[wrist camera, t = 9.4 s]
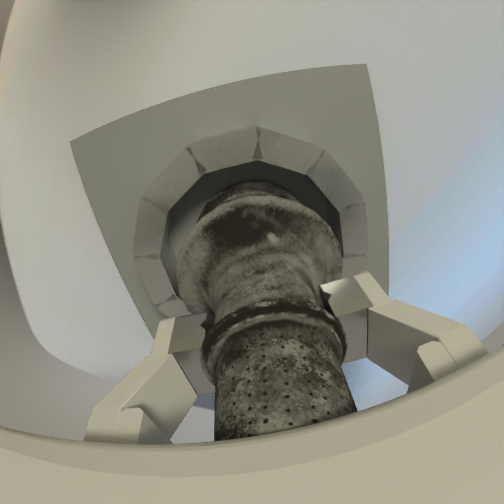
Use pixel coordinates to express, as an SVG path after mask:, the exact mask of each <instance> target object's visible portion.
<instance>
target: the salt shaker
mask: <svg viewBox="0 0 504 504" xmlns="http://www.w3.org/2000/svg"><path fill="white" fill-rule="evenodd" d="M342 268H343V261H342V255H341V249H340V245H339V243H338V241H337V239H336V237H335V235H334V233H333V231H332V229H331V227H330V226H329V225H328V224H327V223H326V222H325V221H324V220H323V219H322V218H321V217H320V216H319V215H318V214H317V213H316V212H315V211H313V210H311V209H310V208H308V207H306V206H304V205H302V203H301V202H300V201H299V200H298V199H297V198H296V197H295V196H294V195H293V194H292V193H291V192H290V191H288V190H286V189H284V188H282V187H280V186H278V185H276V184H273V183H268V182H263V181H245V182H241V183H237V184H234V185H231V186H228V187H226V188H225V189H223V190H222V191H220V192H219V193H217V194H216V195H214V196H213V197H212V198H211V200H210V201H209V202H208V203H207V204H206V205H205V206H204V208H203V210H202V212H201V214H200V216H199V218H198V220H197V224H196V225H195V226H194V227H193V228H192V229H191V231H190V232H189V233H188V234H187V236H186V238H185V240H184V242H183V245H182V247H181V249H180V251H179V254H178V259H177V267H176V280H177V285H178V290H179V294H180V296H181V298H182V300H183V302H184V304H185V306H186V308H187V310H188V311H189V312H190V313H191V314H195V313H200V312H206V311H209V312H210V313H211V315H212V317H213V319H214V321H215V324H214V326H213V327H212V328H211V329H210V330H209V332H208V334H207V335H206V337H205V339H204V340H203V342H202V347H201V353H200V362H201V366H202V370H203V373H204V374H205V376H206V377H207V379H208V380H209V381H210V383H211V384H213V385H214V386H215V422H214V423H215V425H214V441H222V440H231V439H238V438H246V437H252V436H258V435H264V434H270V433H275V432H280V431H285V430H290V429H295V428H299V427H304V426H308V425H312V424H316V423H320V422H324V421H327V420H331V419H335V418H338V417H342V416H345V415H348V414H352V413H355V412H358V411H357V408H356V405H355V403H354V400H353V397H352V395H351V392H350V389H349V386H348V384H347V381H346V379H345V376H344V373H343V371H342V368H341V365H342V363H343V362H344V360H345V356H346V352H347V340H346V334H345V332H344V330H343V328H342V327H341V325H340V323H339V321H338V320H337V319H336V318H335V317H333V316H332V315H331V314H330V313H329V312H327V311H326V310H325V309H322V307H323V304H322V301H321V299H320V295H319V285H322V284H326V283H329V282H333V281H336V280H340V279H341V276H342Z"/></svg>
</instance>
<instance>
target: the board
mask: <svg viewBox="0 0 504 504" xmlns="http://www.w3.org/2000/svg"><path fill="white" fill-rule="evenodd" d="M248 126H253V127H255V129H256V128H257V126H259V127H262V128H266V129H269V130H272V131H275V132H279V133H282V134H285V135H288V136H291V137H294V138H297V139H300V140H303V141H306V142H309V143H312V144H314V145H317V146H320V147H322V148H323V150H326V151H328V152H329V153H330V154H331V155H332V157H333V158H334V159H335V160H336V162H337V163H338V164H339V165H340V167H341V168H342V169H343V170H344V172H345V173H346V174H347V175H348V177H349V178H350V179H351V181H352V182H353V183H354V185H355V186H356V187H357V189H358V190H359V191H360V193H361V194H362V195H363V197H362V198H361V199H362V200H364V201H365V204H366V215H367V228H368V243H369V253H366V254H365V255H366V256H367V257H368V259H367V261H366V263H365V265H364V267H363V269H362V271H361V273H362V272H365V271H368V272H369V273H370V274H371V275H372V276H373V278H374V279H375V280H376V282H377V283H378V284H379V285H380V287H381V288H382V289H383V291H384V292H385V293H386V295H387V296H388V290H389V236H388V213H387V197H386V185H385V174H384V164H383V156H382V148H381V140H380V133H379V127H378V120H377V114H376V109H375V103H374V98H373V93H372V88H371V83H370V78H369V74H368V70H367V65H366V64H354V65H340V66H329V67H319V68H311V69H303V70H296V71H289V72H283V73H277V74H271V75H266V76H261V77H256V78H251V79H246V80H241V81H237V82H233V83H229V84H224V85H220V86H217V87H213V88H209V89H205V90H202V91H198V92H195V93H191V94H188V95H185V96H181V97H178V98H175V99H172V100H169V101H166V102H163V103H160V104H157V105H154V106H152V107H149V108H146V109H143V110H141V111H138V112H135V113H133V114H130V115H128V116H125V117H123V118H120V119H118V120H116V121H113V122H111V123H109V124H106V125H104V126H102V127H99V128H97V129H95V130H93V131H91V132H89V133H86V134H84V135H82V136H80V137H78V138H76V139H74V140H72V141H70V145H71V148H72V152H73V155H74V158H75V161H76V164H77V167H78V170H79V173H80V176H81V179H82V182H83V185H84V188H85V191H86V193H87V196H88V199H89V202H90V204H91V207H92V210H93V212H94V215H95V217H96V220H97V222H98V225H99V227H100V230H101V232H102V234H103V237H104V239H105V241H106V244H107V246H108V248H109V251H110V253H111V255H112V257H113V260H114V262H115V264H116V266H117V268H118V270H119V273H120V275H121V277H122V279H123V281H124V283H125V285H126V287H127V289H128V291H129V293H130V295H131V297H132V299H133V301H134V303H135V305H136V307H137V309H138V311H139V313H140V314H141V316H142V318H143V320H144V322H145V324H146V326H147V327H148V329H149V331H150V333H151V335H152V336H153V338H154V339H155V336H156V332H157V329H158V325H159V322H160V321H161V320H163V319H168V318H169V317H168V316H166V315H165V314H164V313H162V312H161V311H160V310H158V309H157V307H158V304H155V305H154V304H153V302H152V300H151V298H150V296H149V294H148V292H147V289H146V287H145V285H144V283H143V281H142V279H141V276H140V274H139V272H138V270H137V268H136V265H135V263H134V261H133V258H134V256H135V255H134V254H132V250H133V242H134V234H135V227H136V220H137V213H138V207H139V201H140V199H141V198H142V197H143V196H144V195H142V194H143V193H144V192H145V190H146V189H147V188H148V187H149V186H150V185H151V184H152V182H153V181H154V180H155V179H156V178H157V177H158V176H159V174H160V173H161V172H162V171H163V170H164V169H165V168H166V167H167V166H168V165H169V163H170V162H171V161H172V160H173V159H174V158H175V157H176V156H177V155H178V154H179V153H180V152H181V151H182V150H183V149H184V148H185V147H186V146H188V145H189V144H191V143H193V142H194V141H196V140H198V139H202V138H205V137H209V136H213V135H216V134H220V133H224V132H228V131H232V130H236V129H240V128H244V127H248ZM245 181H263V182H268V183H273V184H276V185H278V186H280V187H282V188H284V189H286V190H288V191H290V192H291V193H292V194H293V195H294V196H295V197H296V198H297V199H298V200H299V201H300V202H301V203H302V205H304V206H306V207H308V208H310V209H311V210H313V211H315V212H316V213H317V214H318V215H319V216H320V217H321V218H322V219H323V220H324V221H325V222H326V223H327V224H328V217H327V210H326V203H325V198H324V197H323V196H322V195H321V193H320V192H319V191H318V190H317V189H316V188H315V186H314V185H313V184H312V183H311V182H310V181H309V179H308V178H307V177H306V176H305V175H304V174H302V173H299V172H296V171H292V170H289V169H286V168H283V167H279V166H276V165H273V164H269V163H266V162H263V161H259V160H255V161H251V162H247V163H243V164H239V165H235V166H231V167H227V168H224V169H220V170H216V171H212V172H209V173H205V174H203V175H202V176H201V177H200V178H199V179H198V180H197V181H196V182H195V183H194V184H193V185H192V186H191V187H190V188H189V189H188V190H187V192H186V193H185V194H184V195H183V196H182V197H181V198H180V199H179V200H178V201H177V202H176V203H175V207H174V211H173V216H172V221H171V226H170V231H169V236H168V238H169V241H170V243H171V246H172V249H173V251H174V254H175V257H176V259H178V254H179V251H180V249H181V247H182V245H183V242H184V240H185V238H186V236H187V234H188V233H189V232H190V231H191V229H192V228H193V227H194V226H195V225H196V224H197V220H198V218H199V216H200V214H201V212H202V210H203V208H204V206H205V205H206V204H207V203H208V202H209V201H210V200H211V198H212V197H213V196H214V195H216V194H217V193H219V192H220V191H222V190H223V189H225V188H226V187H228V186H231V185H234V184H237V183H241V182H245ZM328 225H329V224H328Z"/></svg>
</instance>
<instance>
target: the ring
mask: <svg viewBox="0 0 504 504" xmlns="http://www.w3.org/2000/svg"><path fill="white" fill-rule="evenodd" d="M255 160H259V161H263V162H266V163H269V164H273V165H276V166H279V167H283V168H286V169H289V170H292V171H296V172H299V173H302V174H304V175H305V176H306V177H307V178H308V179H309V181H310V182H311V183H312V184H313V185H314V186H315V188H316V189H317V190H318V191H319V192H320V193H321V195H322V196H323V197H324V198H325V203H326V210H327V217H328V224H329V226H330V227H331V229H332V231H333V233H334V235H335V237H336V239H337V241H338V243H339V245H340V249H341V255H342V261H343V268H342V276H341V279H343V278H347V277H350V276H352V275H355V274H359V273H361V271H362V269H363V267H364V265H365V263H366V261H367V259H368V257H367V256H366V255H365V254H366V253H369V243H368V228H367V215H366V204H365V201H364V200H362V199H361V198H362V197H363V195H362V194H361V193H360V191H359V190H358V189H357V187H356V186H355V185H354V183H353V182H352V181H351V179H350V178H349V177H348V175H347V174H346V173H345V172H344V170H343V169H342V168H341V167H340V165H339V164H338V163H337V162H336V160H335V159H334V158H333V157H332V155H331V154H330V153H329V152H328V151H326V150H323V148H322V147H320V146H317V145H314V144H312V143H309V142H306V141H303V140H300V139H297V138H294V137H291V136H288V135H285V134H282V133H279V132H275V131H272V130H269V129H266V128H262V127H259V126H257V128H256V129H255V127H253V126H248V127H244V128H240V129H236V130H232V131H228V132H224V133H220V134H216V135H213V136H209V137H205V138H202V139H198V140H196V141H194V142H193V143H191V144H189V145H188V146H186V147H185V148H184V149H183V150H182V151H181V152H180V153H179V154H178V155H177V156H176V157H175V158H174V159H173V160H172V161H171V162H170V163H169V165H168V166H167V167H166V168H165V169H164V170H163V171H162V172H161V173H160V174H159V176H158V177H157V178H156V179H155V180H154V181H153V182H152V184H151V185H150V186H149V187H148V188H147V189H146V190H145V192H144V193H143V194H142V195H144V196H143V197H142V198H141V199H140V201H139V207H138V213H137V220H136V227H135V234H134V242H133V250H132V254H134V255H135V256H134V258H133V261H134V263H135V265H136V268H137V270H138V272H139V274H140V276H141V279H142V281H143V283H144V285H145V287H146V289H147V292H148V294H149V296H150V298H151V300H152V302H153V304H154V305H155V304H158V307H157V309H158V310H160V311H161V312H162V313H164V314H165V315H166V316H168V317H169V318H173V317H178V316H184V315H189V314H191V313H190V312H189V311H188V310H187V308H186V306H185V304H184V302H183V300H182V298H181V296H180V294H179V290H178V285H177V280H176V267H177V259H176V257H175V254H174V251H173V249H172V246H171V243H170V241H169V238H168V236H169V231H170V226H171V221H172V216H173V211H174V207H175V203H176V202H177V201H178V200H179V199H180V198H181V197H182V196H183V195H184V194H185V193H186V192H187V190H188V189H189V188H190V187H191V186H192V185H193V184H194V183H195V182H196V181H197V180H198V179H199V178H200V177H201V176H202V175H203V174H205V173H209V172H212V171H216V170H220V169H224V168H227V167H231V166H235V165H239V164H243V163H247V162H251V161H255Z"/></svg>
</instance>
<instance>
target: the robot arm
mask: <svg viewBox="0 0 504 504" xmlns="http://www.w3.org/2000/svg"><path fill="white" fill-rule="evenodd" d="M319 295H320V299H321V301H322V304H323V307H322V309H325V310H326V311H327V312H329V313H330V314H331V315H332V316H333V317H335V318H336V319H337V320H338V321H339V323H340V325H341V327H342V328H343V330H344V332H345V334H346V340H347V352H346V356H345V360H344V362H343V363H342V364H344V363H348V362H351V361H355V360H358V359H362V358H365V357H367V358H368V359H369V360H371V361H372V362H374V363H375V364H377V365H378V366H380V367H381V368H383V369H384V370H386V371H387V372H389V373H390V374H392V375H394V376H395V377H397V378H398V379H400V380H401V381H403V382H404V383H406V384H407V385H409V387H408V391H407V394H405V395H403V396H400V397H397V398H395V399H392V400H390V401H387V402H384V403H381V404H379V405H376V406H373V407H370V408H367V409H364V410H361V411H358V412H355V413H352V414H348V415H345V416H342V417H338V418H335V419H331V420H327V421H324V422H320V423H316V424H312V425H308V426H304V427H299V428H295V429H290V430H285V431H280V432H275V433H270V434H264V435H258V436H252V437H246V438H238V439H231V440H222V441H213V442H201V443H186V444H173V443H172V442H171V441H170V438H171V437H172V435H173V434H174V432H175V431H176V429H177V428H178V426H179V424H180V423H181V422H182V420H183V419H184V417H185V416H186V414H187V413H188V411H189V409H190V408H191V406H192V405H193V403H194V402H195V400H196V399H197V397H198V396H197V395H201V394H207V393H213V392H215V386H214V385H213V384H211V383H210V381H209V380H208V379H207V377H206V376H205V374H204V373H203V370H202V366H201V362H200V353H201V347H202V342H203V340H204V339H205V337H206V335H207V334H208V332H209V330H210V329H211V328H212V327H213V326H214V324H215V321H214V319H213V317H212V315H211V313H210V312H209V311H206V312H200V313H195V314H189V315H184V316H178V317H173V318H168V319H163V320H161V321H160V322H159V325H158V329H157V332H156V336H155V339H154V343H153V347H152V350H151V354H150V357H145V358H144V359H143V360H142V361H141V362H140V363H139V364H138V365H137V366H136V367H135V368H134V369H133V370H132V371H131V372H130V373H129V374H128V375H127V376H126V377H125V378H124V379H123V380H122V381H120V382H119V383H118V384H117V385H116V386H115V387H114V388H113V389H112V390H111V391H110V392H109V393H108V394H107V395H106V396H105V397H104V398H103V399H102V400H101V401H100V402H99V403H98V404H97V405H96V406H95V407H94V409H93V412H92V415H91V418H90V421H89V424H88V427H87V431H86V434H85V437H84V441H77V440H69V439H62V438H55V437H48V436H43V435H38V434H32V433H28V432H23V431H18V430H14V429H10V428H6V427H2V426H0V504H504V344H503V345H502V346H500V347H499V348H497V349H495V350H494V351H492V352H490V353H488V351H487V350H486V349H485V348H484V346H483V345H482V344H481V342H480V341H479V340H478V339H477V338H476V336H475V335H474V334H473V333H472V332H471V330H470V329H469V328H468V327H467V326H466V325H465V324H462V323H460V322H457V321H454V320H451V319H449V318H446V317H443V316H440V315H437V314H435V313H432V312H429V311H426V310H423V309H421V308H418V307H415V306H412V305H409V304H407V303H404V302H401V301H398V300H393V301H391V300H390V298H389V297H388V296H387V295H386V293H385V292H384V291H383V289H382V288H381V287H380V285H379V284H378V283H377V282H376V280H375V279H374V278H373V276H372V275H371V274H370V273H369V272H368V271H365V272H362V273H359V274H355V275H352V276H350V277H347V278H343V279H340V280H336V281H333V282H329V283H326V284H322V285H319Z"/></svg>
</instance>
